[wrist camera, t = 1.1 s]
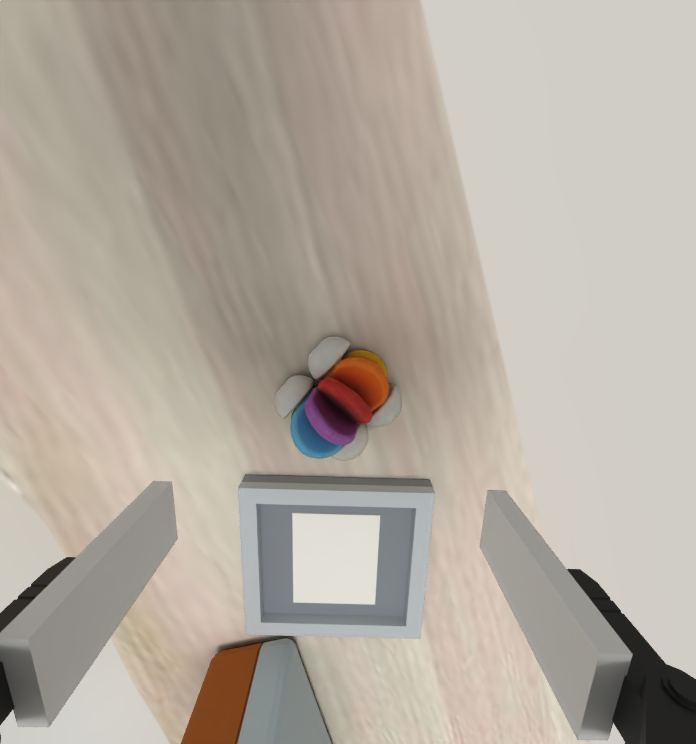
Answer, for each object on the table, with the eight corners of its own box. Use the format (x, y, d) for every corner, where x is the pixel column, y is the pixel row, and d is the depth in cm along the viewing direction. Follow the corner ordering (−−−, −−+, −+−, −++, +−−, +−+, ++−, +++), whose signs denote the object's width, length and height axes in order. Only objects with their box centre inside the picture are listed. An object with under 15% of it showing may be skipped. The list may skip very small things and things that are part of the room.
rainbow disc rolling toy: (412, 384, 30) (432, 414, 23) (338, 460, 32) (335, 509, 25) (339, 318, 29) (336, 329, 22) (266, 400, 30) (241, 435, 23)
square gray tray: (245, 474, 32) (238, 488, 30) (429, 479, 32) (434, 493, 30) (251, 613, 36) (245, 634, 34) (416, 617, 36) (420, 638, 34)
